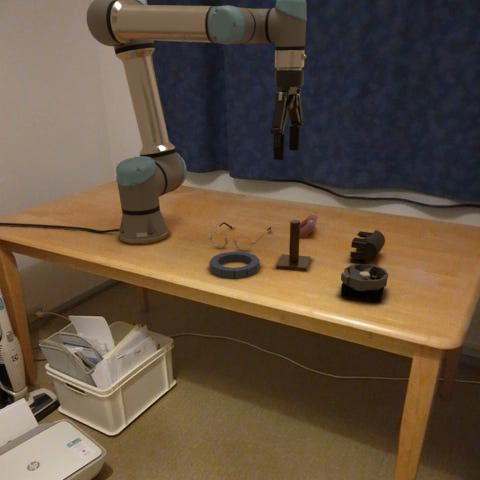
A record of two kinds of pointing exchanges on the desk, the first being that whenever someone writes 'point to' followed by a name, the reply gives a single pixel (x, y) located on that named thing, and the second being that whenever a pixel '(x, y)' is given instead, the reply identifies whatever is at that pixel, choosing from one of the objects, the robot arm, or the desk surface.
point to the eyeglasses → (234, 238)
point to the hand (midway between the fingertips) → (286, 154)
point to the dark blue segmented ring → (238, 271)
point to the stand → (294, 251)
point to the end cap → (367, 247)
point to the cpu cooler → (363, 282)
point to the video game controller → (308, 225)
